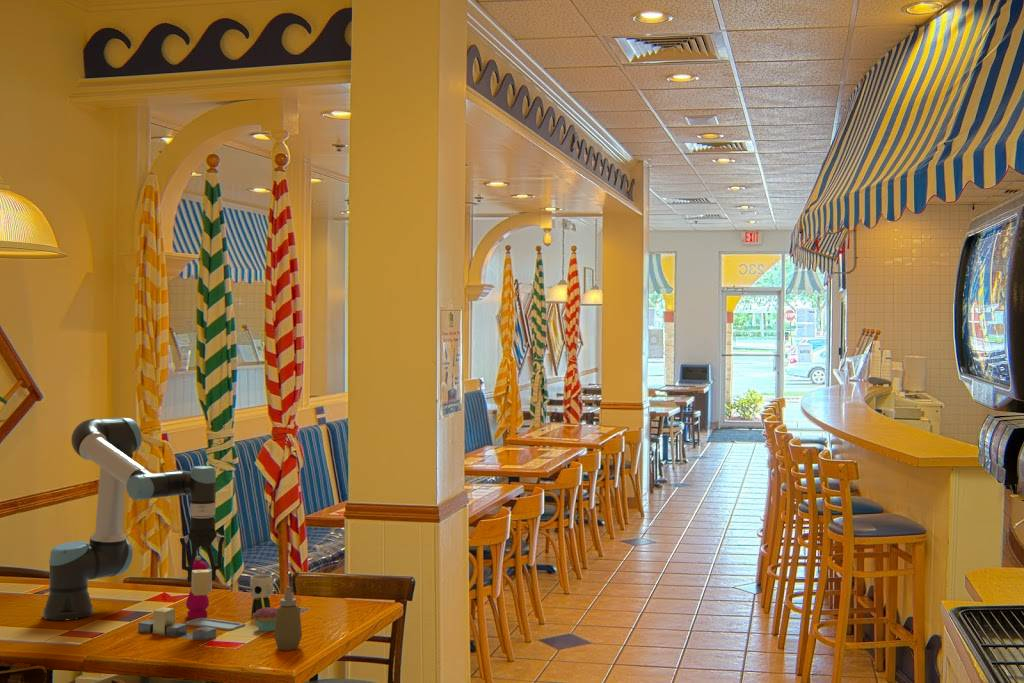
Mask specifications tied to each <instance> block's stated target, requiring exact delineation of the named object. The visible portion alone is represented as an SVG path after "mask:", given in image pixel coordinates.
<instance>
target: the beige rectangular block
mask: <svg viewBox="0 0 1024 683" xmlns="http://www.w3.org/2000/svg"><path fill="white" fill-rule="evenodd" d="M209 570H211V569H207V570H195V571H194V596H195V595H207V596H209V595H210V592H209Z"/></svg>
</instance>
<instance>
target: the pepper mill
mask: <svg viewBox="0 0 1024 683" xmlns="http://www.w3.org/2000/svg"><path fill="white" fill-rule="evenodd" d="M201 559H202V557H201V556H200V555H196V556H195V560H194V564H193V568H192V570H208V565H207V564H208V563H206V562H205V561H204V560H201ZM209 604H210V600H209V595H195V596H194V593H191V589H190V591H189V593H188V596H187V597H186V601H185V607H186V609H188V611H187V616H186V617H187V618H190V619H197V618H205V617H206V618H208V610H207V608H208V607H209Z"/></svg>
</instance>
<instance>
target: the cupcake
mask: <svg viewBox="0 0 1024 683" xmlns="http://www.w3.org/2000/svg"><path fill="white" fill-rule="evenodd" d="M261 601H262V607H263V608H262V609H259V610H257V611H256V612H255V613H253V616H252V617H253V621H255V623H256V625H257V628H258V630H259V631H260V632H272V631H275V623H276V614H277V608H275V607H271V606H270V607H266V608H265V606H264V600H263V595H262V593H261Z"/></svg>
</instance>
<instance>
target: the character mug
mask: <svg viewBox="0 0 1024 683" xmlns="http://www.w3.org/2000/svg"><path fill="white" fill-rule="evenodd" d="M273 580H274V579H273V576H272V575H271V574H255V575H252V576H251V577H250V581H249V589H250V591H249V593H250V596H251V597H252V598H253V600H252V606H251V613H250V614H251V616H252V617H253V615H254V613H255V612H256V611H257V610H259V609H262V608H263V607H262V601H261V593H262V595H263V600H264V606H265V608H266V607H271V602H270V598H269V597H271V596H272V595H273V593H274V584H273Z"/></svg>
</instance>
